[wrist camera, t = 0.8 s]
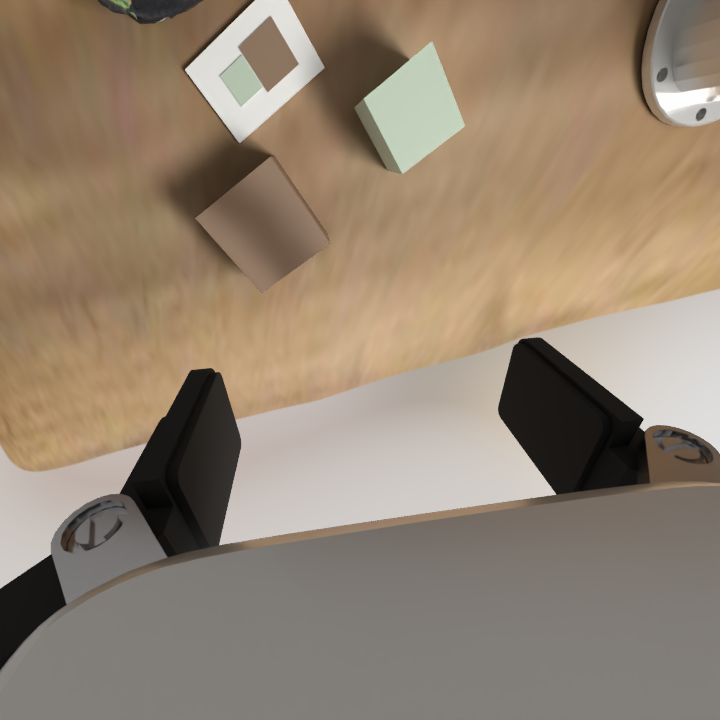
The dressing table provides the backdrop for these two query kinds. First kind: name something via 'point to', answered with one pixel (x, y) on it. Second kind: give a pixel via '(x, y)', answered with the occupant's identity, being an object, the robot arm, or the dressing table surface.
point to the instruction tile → (255, 66)
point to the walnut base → (265, 225)
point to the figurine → (149, 8)
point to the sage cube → (411, 112)
